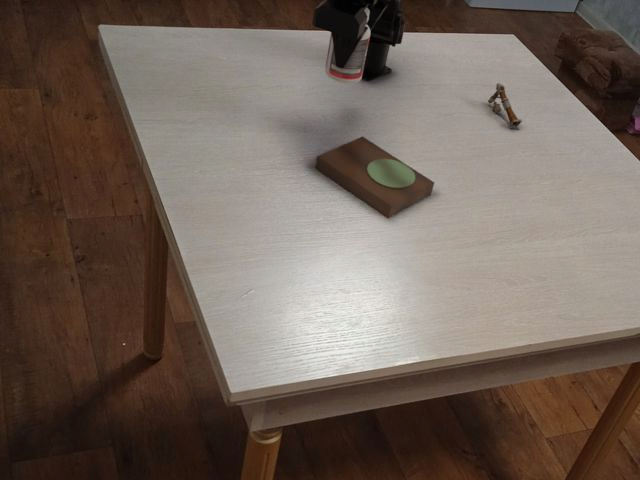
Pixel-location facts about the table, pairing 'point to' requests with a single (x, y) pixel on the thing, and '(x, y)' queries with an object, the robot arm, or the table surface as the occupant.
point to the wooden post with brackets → (506, 104)
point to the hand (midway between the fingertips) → (346, 59)
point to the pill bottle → (354, 64)
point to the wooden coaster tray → (374, 176)
